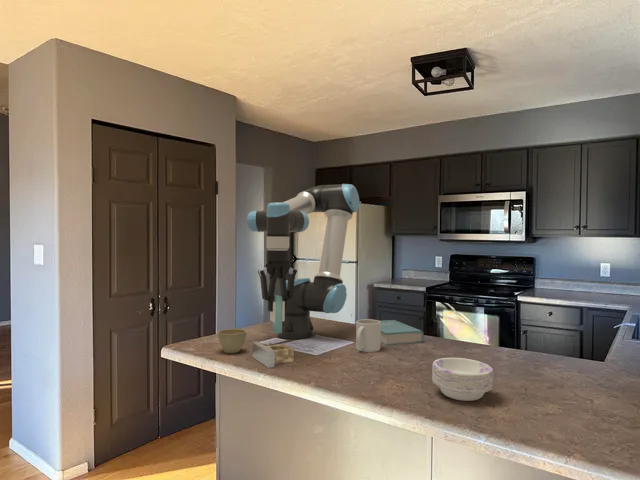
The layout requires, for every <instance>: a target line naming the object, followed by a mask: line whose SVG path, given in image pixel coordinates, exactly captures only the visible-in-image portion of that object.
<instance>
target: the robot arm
mask: <svg viewBox="0 0 640 480" xmlns="http://www.w3.org/2000/svg"><path fill="white" fill-rule="evenodd" d="M266 206H267V207H266V209H264V210H254V211H251V212H249V213H248V215H247V216H246V225H247V228H248V229H249V231H251V232H257V233H261V232H262V233H266V249H267V250H266V253H265V254H266V255H265V256H266V264H265V266H264V268H262V269H258V271H257V274H258V275H259V279H260V280H259V281H260V288H261V289H260V290H261V297H262V300H264V301H267V311H268V312H269V321H270V322H272V323H273V322H276V302H273V300H274V296H275V292H276V285H277V280H279V289H280V296H282V333H276V336H277V337H279V338H282V339H287V340H289V339H290V340H302V339H309V338H313V337H314V336H315V330H314V329H315V328H314V326H313V323H312V320H311V317H310V315H311V314H310V313H311V312H315V313H317V312H318V313H325V314H337V313H339V312H340V311H341V310H342V309H343V308H344V306H345V305H346V304H345V303H346V300H347V296H348V294H347V287H346V285H345V284H343V282H344V281H343V279H342V277H341V270H342V265H343V257H344V250H345V244H346V236H347V230H348V223H349V221H350V220H352V218H353V214H354V213H356V212H358V211H359V209H360V196H359V192H358V190H357V188H356V186H354V185H353V184H352V183H351V184H349V183H342V184H321V185H317V186H314V187H310V188H308V189H306V190H303V191H301V192H298V193H297V195H296V196H295V197H293V198H290V199H288V200H286V201H282V202H269V203H268V204H267V205H266ZM311 213H312V214H313V213H324V215H325V216H326V217H327V219H326V225H325V233H324V237H323V238H324V239H323V244H322V251H321V257H320V264H319V270H318V273H317V274H315V275H314V278H313V281H311V278H309V277H304V278H296V275H297V274H298V270H297V269H295V268H293V267H291V265H290V250H289V249H290V233H301V232H304V231H306V230H307V229H308V228H309V225H310V218H309V216H308V215H309V214H311ZM267 274H268V276H269V279H268V280H269V283H268V282H267V281H268V280H267ZM287 274H288V277H287V276H286V275H287ZM287 278H288V279H287Z"/></svg>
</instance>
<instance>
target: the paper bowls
mask: <svg viewBox="0 0 640 480" xmlns="http://www.w3.org/2000/svg"><path fill="white" fill-rule="evenodd" d="M431 374H432V376H431V377H432V378H431V379H432V380H431V381H432V382H433V384H434V385H435V386H438V387H439V390H440V391H441V393H442V394H443V395H444V396H445V397H448V398H449V399H453V400H456V401H457V400H458V401H462V402H463V401H464V402H468V401H469V402H473V401H478V400H479V399H481V398H482V397H483V396H484V394H485V393H488V392H489V391H491V390H492V389H493V387H494V386H493V384H494V369H493V368H492V366H491V365H489V364H488V363H485V362H482V361H479V360H475V359H470V358H464V357H442V358H437V359H435V360H434V361H433V362H432V373H431Z"/></svg>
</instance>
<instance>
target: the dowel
mask: <svg viewBox="0 0 640 480" xmlns="http://www.w3.org/2000/svg"><path fill="white" fill-rule="evenodd" d="M273 302H276V322H272V333H273V334H277V333H282V296H281V295H278V294H277V295H274V300H273Z"/></svg>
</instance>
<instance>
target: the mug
mask: <svg viewBox="0 0 640 480" xmlns="http://www.w3.org/2000/svg"><path fill="white" fill-rule="evenodd" d="M380 321H381V320H378V319H371V318H365V319H364V318H363V319H358V320H356V322H355V349H356V350H357V351H358V352H359V351H360V352H363V353H364V352H365V353H366V352H367V353H375V352H379V351H380V350H381V346H382V345H381V344H382V343H381V322H380Z"/></svg>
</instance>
